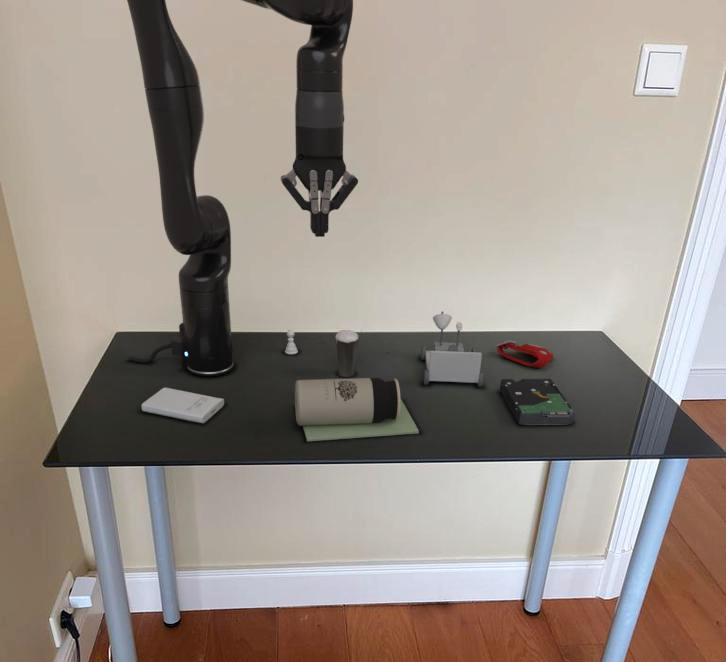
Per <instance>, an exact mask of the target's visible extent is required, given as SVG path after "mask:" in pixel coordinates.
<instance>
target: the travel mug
mask: <svg viewBox="0 0 726 662" xmlns="http://www.w3.org/2000/svg"><path fill="white" fill-rule="evenodd" d="M401 400H402V398H401V388H400V384H399V380H398V379H397V378H393V379H392V380H387V381H386V380H384V379H382V378H380V377H358V378H326V379H325V378H321V379H320V378H319V379H297V380H296V381H295V383H294V407H295V421H296V423H297V425H298V427H299V426H302V425H331V424H359V423H380V422H382V421H384V420H385V419H393V420H395V421H397V420H398V419H399V416H400V407H401ZM302 427H303V426H302Z"/></svg>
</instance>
